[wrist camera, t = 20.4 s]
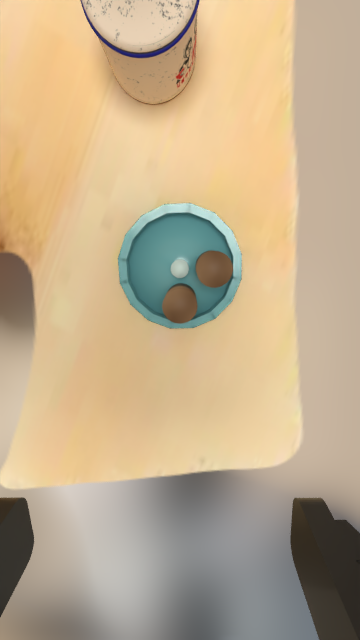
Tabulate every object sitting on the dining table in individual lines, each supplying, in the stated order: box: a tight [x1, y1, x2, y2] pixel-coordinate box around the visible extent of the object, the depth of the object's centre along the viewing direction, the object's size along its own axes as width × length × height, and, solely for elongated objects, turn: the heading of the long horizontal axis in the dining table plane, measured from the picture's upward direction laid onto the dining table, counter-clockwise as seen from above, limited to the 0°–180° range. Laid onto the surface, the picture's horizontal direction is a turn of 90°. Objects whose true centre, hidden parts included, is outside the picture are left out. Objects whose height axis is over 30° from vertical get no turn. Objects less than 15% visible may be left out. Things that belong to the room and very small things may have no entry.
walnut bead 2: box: [195, 250, 233, 288], centre depth 31 cm, size 4×4×5 cm
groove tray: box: [118, 203, 242, 329], centre depth 33 cm, size 14×14×2 cm
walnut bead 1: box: [162, 283, 197, 324], centre depth 32 cm, size 4×4×5 cm
